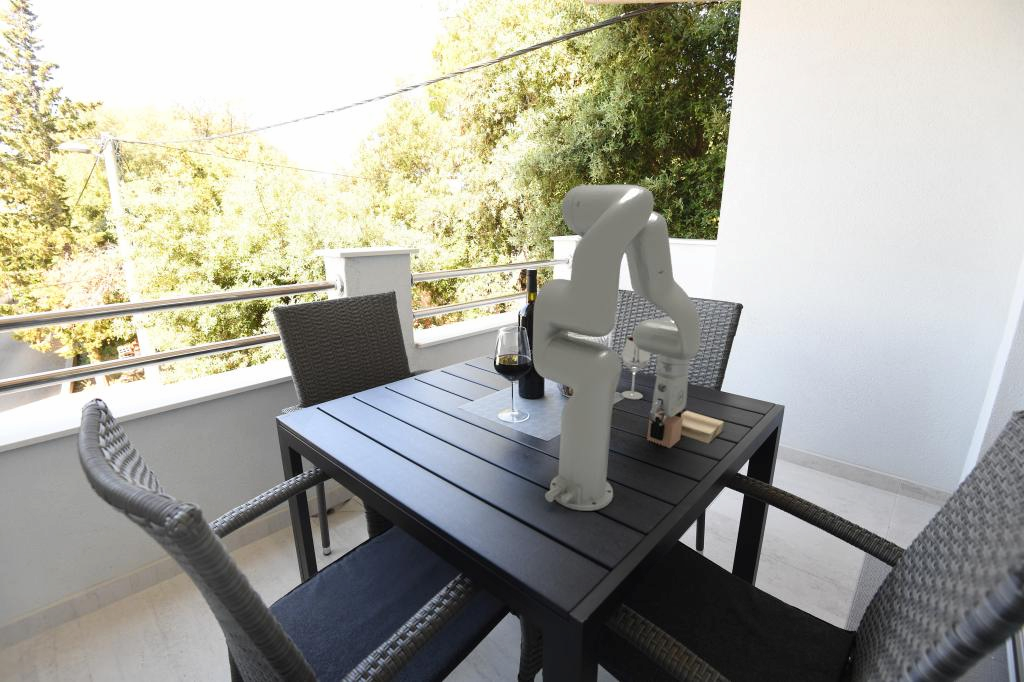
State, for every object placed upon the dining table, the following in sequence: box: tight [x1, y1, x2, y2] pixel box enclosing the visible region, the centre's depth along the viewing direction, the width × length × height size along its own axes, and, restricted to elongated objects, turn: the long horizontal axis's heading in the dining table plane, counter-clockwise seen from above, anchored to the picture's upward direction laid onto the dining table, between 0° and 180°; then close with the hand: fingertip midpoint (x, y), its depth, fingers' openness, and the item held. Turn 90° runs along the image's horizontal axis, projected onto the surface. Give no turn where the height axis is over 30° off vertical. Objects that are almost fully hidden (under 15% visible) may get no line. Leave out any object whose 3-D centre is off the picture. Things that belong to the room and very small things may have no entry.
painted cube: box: [646, 410, 683, 449], centre depth 120 cm, size 6×6×6 cm
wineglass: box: [621, 336, 651, 400], centre depth 147 cm, size 8×8×18 cm
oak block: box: [681, 410, 725, 444], centre depth 126 cm, size 10×10×3 cm
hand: (665, 431), depth 121 cm, fingers open, 9 cm apart
